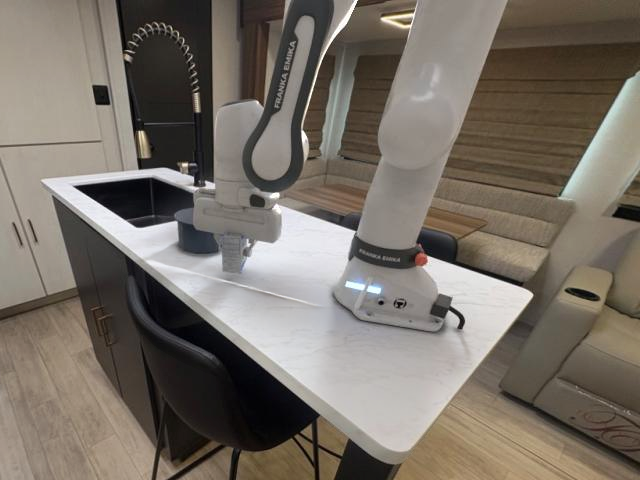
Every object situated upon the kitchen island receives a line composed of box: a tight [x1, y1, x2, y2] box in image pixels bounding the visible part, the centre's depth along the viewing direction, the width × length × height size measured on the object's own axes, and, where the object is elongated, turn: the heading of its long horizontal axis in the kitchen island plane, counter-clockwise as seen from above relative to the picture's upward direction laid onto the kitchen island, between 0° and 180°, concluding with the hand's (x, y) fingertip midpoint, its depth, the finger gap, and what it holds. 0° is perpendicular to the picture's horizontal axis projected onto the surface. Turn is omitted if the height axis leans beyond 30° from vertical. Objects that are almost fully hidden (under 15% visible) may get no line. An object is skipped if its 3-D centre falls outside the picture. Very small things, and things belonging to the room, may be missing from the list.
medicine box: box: [221, 233, 248, 274], centre depth 71 cm, size 8×4×9 cm, turn 169°
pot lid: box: [173, 207, 194, 226], centre depth 84 cm, size 15×15×4 cm
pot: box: [177, 222, 223, 255], centre depth 87 cm, size 13×14×8 cm
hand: (235, 253), depth 71 cm, fingers closed on medicine box, 5 cm apart
